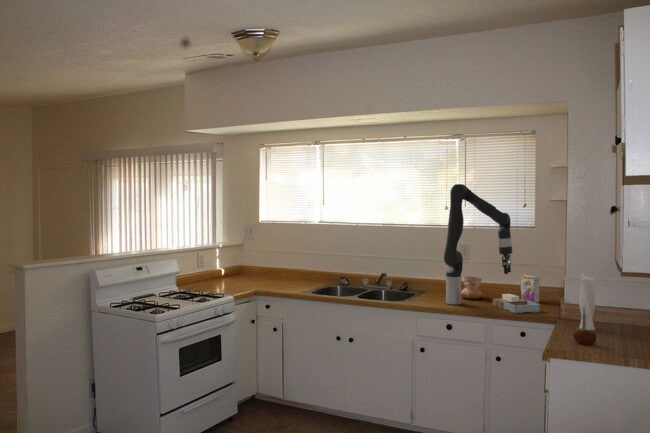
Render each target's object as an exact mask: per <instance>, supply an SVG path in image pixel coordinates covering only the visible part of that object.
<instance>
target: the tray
mask: <svg viewBox="0 0 650 433" xmlns="http://www.w3.org/2000/svg"><path fill="white" fill-rule="evenodd" d="M505 309H506V310H505ZM503 310H505V311H507V310H509V311H508V312H510V311H511V313H513V312H514V313H513V314H524V313H523V312H532V313H541V304H540V303H534V302H531V301H527V305H513V304H510V303H507V302H504V309H503Z"/></svg>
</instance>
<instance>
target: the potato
mask: <svg viewBox="0 0 650 433" xmlns="http://www.w3.org/2000/svg"><path fill="white" fill-rule="evenodd" d="M572 334H573V336H572V337H573V339H574V340H575V342H577V343H580V344H582V345H586V346H592V345H594V344H595V343H596V341H597V338H598V337H597V334H596V333H595V332H594V331H589V330H577V331H575V332H574V333H572Z"/></svg>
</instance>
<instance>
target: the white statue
mask: <svg viewBox="0 0 650 433" xmlns="http://www.w3.org/2000/svg"><path fill="white" fill-rule="evenodd" d="M579 279H580V288H579V296H578V297H579V298H578V302H579V310H580V317H581V319H580V323H579V327H576V329H577V330H578V331H580V330H589V331H591V332H597V330H596V328H595V324H594V321H593V317H594V313H595V308H596V292H595V291H596V290H595V285H594V282H595V276H593V277H591V276H585V273H584V272H583V273H581V274H580V278H579Z"/></svg>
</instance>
